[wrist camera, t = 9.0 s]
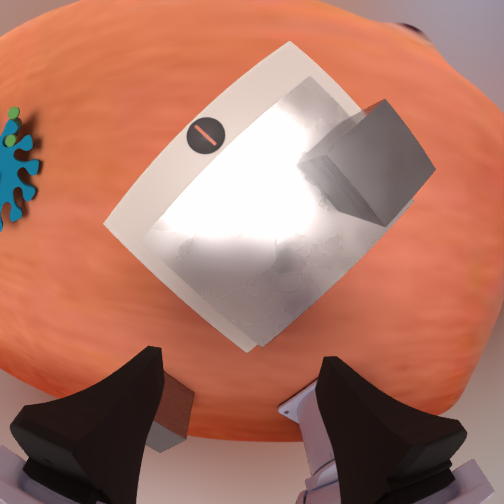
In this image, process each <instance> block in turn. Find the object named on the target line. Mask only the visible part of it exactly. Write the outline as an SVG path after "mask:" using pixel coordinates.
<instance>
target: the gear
mask: <svg viewBox="0 0 504 504" xmlns="http://www.w3.org/2000/svg"><path fill="white" fill-rule="evenodd" d="M19 114H20V110H19V108H18V107H12V108H11V109H10V110H9V112H8V117H9V118H10V120H9V121H8V122H7V123H6V126H5V129H4V131H3V133H2V135H1V136H0V232H1V231H2V228H3V221H2V217H1V209H2V206H3V204H4V203H5V202H9V203H10V204H11V207H12V208H11V211H10V220H11V221H12V222H13V221H16V220H18V219H19V218H21V217H22V209H21V208H20V207H19V206H18V205H17V203H16V201H15V199H14V192H13V190H14V189H15V188H16V187H20V188H21V189H22V191H23V198H24V199H25V200H26V201H30V200H31V199H32V197H33V196H34V194H35V192H36V189H35V187H34V186H33V185H29V184H26V183H24V182H23V181H22V180H21V178H20V177H19V175H18V170H19V169H20V168H21V167H24V168H26V170H27V171H28V173H29V174H30V175H36V173H37V171H38V167H39V160H37V159H32V160H30V161H21V160H18V159H16V158H15V156H14V152H15V150H16V149H18V148H20V149H23V150H25V151H28V150H30V149H31V148H32V147H33V141H32V137H31V135H26V136H25V137H24V138H23V139H22V140H21V141H20V142H19V143H17V144H15V143H16V141H17V135H18V133H19V131H20V129H21V127H22V122H21V119H20V118H18V116H19ZM14 144H15V145H14Z"/></svg>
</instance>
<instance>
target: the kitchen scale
mask: <svg viewBox="0 0 504 504" xmlns="http://www.w3.org/2000/svg"><path fill="white" fill-rule="evenodd" d="M360 111H362V110H361V109H360V107H359V106H358V105H357V104H356V103H355V102H354V101H353V100H352V99H351V98H350V96H349V95H348V94H347V93H346V92H345V91H344V90H343V89H342V88H341V87H340V86H339V85H338V84H337V83H336V82H335V81H334V80H333V79H332V78H331V77H330V76H329V75H328V74H327V73H326V72H325V71H324V70H323V69H322V68H321V67H319V66H318V65H317V64H316V63H315V62H314V61H313V60H312V59H311V58H310V57H308V56H307V55H306V54H305V53H304V52H303V51H301V50H300V49H299V48H298V47H297V46H296V45H294V44H293V43H292V42H291V41H289V42H287V43H286V44H284V45H283V46H281V47H280V48H278V49H277V50H276V51H274V52H273V53H271V54H270V55H269V56H267V57H266V58H265V59H263V60H262V61H261V62H259V63H258V64H257V65H255V66H254V67H253V68H252V69H250V70H249V71H248V72H246V73H245V74H244V75H243V76H242V77H240V78H239V79H238V80H237V81H235V82H234V83H233V84H232V85H231V86H229V87H228V88H227V89H226V90H225V91H224V92H222V93H221V94H220V95H219V96H218V97H217V98H216V99H215V100H213V101H212V102H211V103H210V104H209V105H208V106H207V107H206V108H205V109H204V110H203V111H202V112H200V113H199V114H198V115H197V116H196V117H195V118H194V119H193V120H192V121H191V122H190V123H189V124H188V125H187V126H186V127H185V128H184V129H183V130H182V131H181V132H180V133H179V134H178V135H177V136H176V137H175V138H174V139H173V140H172V141H171V142H170V143H169V145H168V146H167V147H166V148H165V149H164V150H163V151H162V152H161V153H160V154H159V155H158V157H157V158H156V159H155V160H154V161H153V162H152V163H151V164H150V166H149V167H148V168H147V169H146V170H145V171H144V172H143V174H142V175H141V176H140V177H139V178H138V180H137V181H136V182H135V183H134V184H133V186H132V187H131V188H130V189H129V191H128V192H127V193H126V194H125V196H124V197H123V198H122V200H121V201H120V202H119V203H118V205H117V206H116V207H115V209H114V210H113V211H112V213H111V214H110V215H109V217H108V218H107V219H106V221H105V222H104V225H105V226H106V227H107V228H108V229H109V230H110V231H111V232H112V233H113V235H114V236H115V237H116V238H117V239H118V240H119V241H120V242H121V243H122V244H123V245H124V246H125V247H126V248H127V249H128V250H129V251H130V252H131V253H132V254H133V255H134V256H135V257H136V258H137V259H138V260H139V261H140V262H141V263H142V264H144V265H145V266H146V267H147V268H148V269H149V270H150V271H151V272H152V273H153V274H154V275H155V276H156V277H157V278H158V279H159V280H160V281H162V282H163V283H164V284H165V285H166V286H167V287H168V288H169V289H170V290H171V291H173V292H174V293H175V294H176V295H177V296H178V297H179V298H180V299H182V300H183V301H184V302H185V303H186V304H187V305H188V306H190V307H191V308H192V309H193V310H194V311H195V312H196V313H198V314H199V315H200V316H201V317H202V318H204V319H205V320H206V321H207V322H208V323H210V324H211V325H212V326H213V327H214V328H216V329H217V330H218V331H219V332H220V333H222V334H223V335H224V336H225V337H227V338H228V339H229V340H230V341H232V342H233V343H234V344H235V345H237V346H238V347H239V348H241V349H242V350H243V351H244V352H246V353H248V352H249V351H251V350H252V349H253V348H254V347H255V346H257V345H259V346H261V347H264V346H265V345H266V344H267V343H268V342H270V341H271V340H272V339H273V338H274V337H276V336H277V335H278V334H279V333H280V332H282V331H283V330H284V329H285V328H286V327H287V326H289V325H290V324H291V323H292V322H293V321H294V320H296V319H297V318H298V317H299V316H300V315H301V314H302V313H304V312H305V311H306V310H307V309H308V308H309V307H310V306H311V305H312V304H314V303H315V302H316V301H317V300H318V299H319V298H320V297H321V296H322V295H323V294H325V293H326V292H327V291H328V290H329V289H330V288H331V287H332V286H333V285H334V284H335V283H336V282H337V281H338V280H339V279H340V278H341V277H342V276H344V275H345V274H346V273H347V272H348V271H349V270H350V269H351V268H352V267H353V266H354V265H355V264H356V263H357V262H358V261H359V260H360V259H361V258H362V257H363V256H364V255H365V254H366V253H367V252H368V251H369V250H370V249H371V248H372V247H373V246H374V244H375V243H376V242H377V241H378V240H379V239H380V238H381V237H382V236H383V235H384V234H385V233H386V232H387V231H388V230H389V229H390V228H391V226H392V225H393V224H394V223H395V222H396V221H397V220H398V219H399V218H400V217H401V215H402V214H403V213H404V212H405V211H406V210H407V209H408V208H409V206H410V205H411V204H412V203H413V202H414V200H413V198H412V199H411V200H410V201H409V202H408V203H407V204H406V206H405V207H404V208H403V209H402V210H401V211H400V212H399V213H398V215H397V216H396V217H395V218H394V219H393V220H392V221H391V222H390V223H389V225H388V226H387V227H383V226H380V225H377V224H374V223H372V222H369V221H366V220H363V219H360V218H357V217H354V216H351V215H348V214H344V213H341V212H338V210H337V209H336V208H335V207H334V206H333V205H332V203H331V202H330V201H329V200H328V199H327V198H326V197H325V196H324V194H323V193H322V192H321V191H320V190H319V189H318V188H317V187H316V186H315V184H314V183H313V182H312V181H311V180H310V179H309V178H308V177H307V176H306V175H305V174H304V173H303V172H302V171H301V170H300V168H299V167H298V166H297V165H296V163H297V162H298V161H299V160H300V159H301V158H302V157H303V156H304V155H305V154H306V153H308V152H309V151H310V150H311V149H312V148H313V147H314V146H315V145H316V144H317V143H318V142H319V141H320V140H321V139H322V138H324V137H325V136H326V135H327V134H328V133H329V132H330V131H331V130H332V129H333V128H334V127H335V126H336V125H338V124H339V123H340V122H342V121H344V120H346V119H348V118H349V117H351V116H353V115H355V114H357V113H359V112H360Z"/></svg>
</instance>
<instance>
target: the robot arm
mask: <svg viewBox="0 0 504 504" xmlns="http://www.w3.org/2000/svg"><path fill="white" fill-rule="evenodd" d="M164 384H165V378H164V369H163V360H162V350H161V348H160V347H153V346H147V347H146V348H145V349H144V350H142V351H141V352H140V353H139V354H137V355H136V356H135V357H134V358H133V359H131V360H130V361H129V362H128V363H126V364H125V365H124V366H122V367H121V368H120V369H118V370H117V371H115V372H114V373H112V374H111V375H110V376H108V377H107V378H105V379H103V380H102V381H100V382H98V383H97V384H95V385H93V386H91V387H89V388H87V389H85V390H82V391H80V392H77V393H75V394H73V395H70V396H67V397H64V398H61V399H58V400H54V401H50V402H46V403H40V404H33V405H25V406H24V407H23V408H22V410H21V411H20V412H19V414H18V415H17V416H16V418H15V419H14V420H13V422H12V423H11V424H10V430H11V433H12V435H13V437H14V438H15V440H16V441H17V442H18V444H19V445H20V446H21V448H22V449H23V450H24V452H25V453H26V454H27V455H28V456H29V458H28V460H27V462H26V461H25V460H23V459H22V458H21V457H20V456H18V455H17V454H15V453H14V452H12V451H11V450H9V449H8V448H6V447H5V446H3V445H1V446H0V501H1V502H3V503H4V504H136V497H137V488H138V481H139V474H140V467H141V462H142V457H143V452H144V448H145V443H146V440H147V437H148V434H149V431H150V428H151V426H152V423H153V420H154V418H155V415H156V412H157V409H158V407H159V404H160V401H161V398H162V393H163V389H164ZM278 412H279V413H281V414H283V415H284V416H286V417H288V418H290V419H291V420H293V421H295V422H297V423H298V424H299V425H300V429H301V434H302V438H303V442H304V446H305V450H306V455H307V458H308V463H309V467H310V472H311V476H312V477H310V478H308V479H306V480H305V484H306V488H307V490H304V491H302V492H301V493H300V494H299V495H298V498H297V501H296V503H295V504H482V503H483V502H484V501H485V500H487V499H488V498H489V497H490V496H492V495H493V494H494V492H495V490H494V489H493V487H492V486H491V484H490V482H489V481H488V480H487V478H486V476H485V475H484V473H483V472H482V470H481V469H480V467H479V466H478V464H477V463H476V461H475V460H474V459H472V460H470V461H468V462H467V463H465V464H463V465H461V466H460V467H458V468H457V469H455V470H454V471H452V472H451V470H450V469H449V468H450V467H451V466H452V463H451V461H450V458H451V457H452V456H453V455H454V454H455V452H456V451H457V450H458V449H459V448H460V447H461V445H462V444H463V443H464V441H465V439H466V437H467V431H466V430H465V429H464V427H463V426H462V425H461V423H460V422H459V421H458V420H455V419H450V418H444V417H439V416H435V415H432V414H429V413H425V412H422V411H420V410H417V409H414V408H412V407H410V406H407V405H405V404H403V403H401V402H399V401H397V400H395V399H394V398H392V397H390V396H388V395H387V394H385V393H383V392H382V391H380V390H379V389H378V388H376V387H375V386H373V385H372V384H370V383H369V382H368V381H366V380H365V379H364V378H363V377H361V376H360V375H359V374H358V373H356V372H355V371H354V370H353V369H352V368H350V367H349V366H348V365H347V364H346V363H344V362H343V361H342V360H341V359H339V358H338V357H337V356H331V357H324V359H323V363H322V366H321V370H320V373H319V377H318V379H317V380H316V381H315V382H313V383H312V384H311V385H309V386H308V387H307V388H305V389H304V390H302V391H301V392H300V393H298V394H297V395H295V396H294V397H292V398H291V399H289V400H288V401H287V402H285V403H284V404H282V405H281V406H279V407H278Z"/></svg>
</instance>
